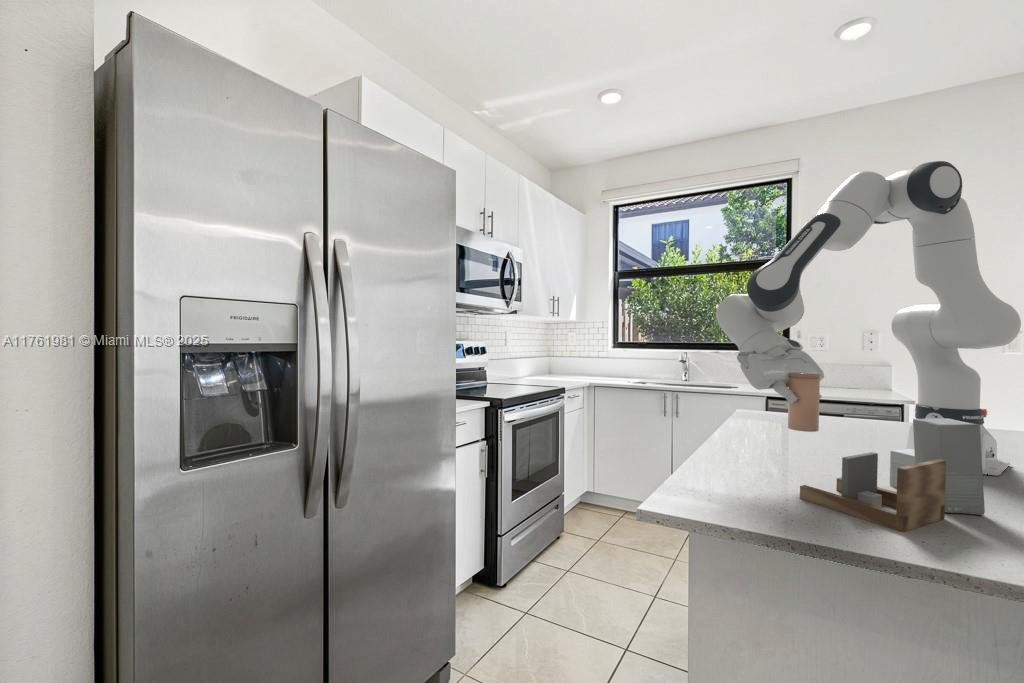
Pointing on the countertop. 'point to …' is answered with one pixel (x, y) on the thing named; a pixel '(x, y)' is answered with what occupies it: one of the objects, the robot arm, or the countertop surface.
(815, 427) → the jar
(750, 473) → the countertop surface
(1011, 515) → the countertop surface
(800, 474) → the countertop surface
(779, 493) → the countertop surface
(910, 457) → the skincare box
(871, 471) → the pusher
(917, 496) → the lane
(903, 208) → the robot arm
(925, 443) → the skincare box
